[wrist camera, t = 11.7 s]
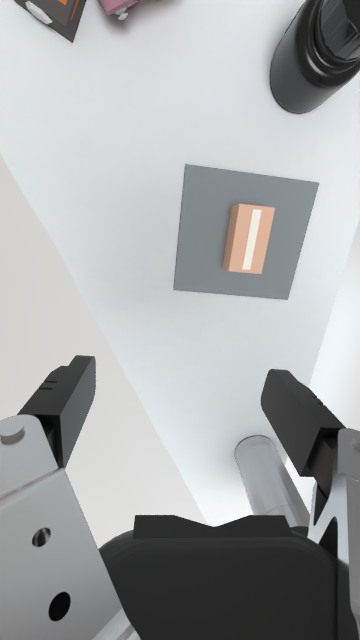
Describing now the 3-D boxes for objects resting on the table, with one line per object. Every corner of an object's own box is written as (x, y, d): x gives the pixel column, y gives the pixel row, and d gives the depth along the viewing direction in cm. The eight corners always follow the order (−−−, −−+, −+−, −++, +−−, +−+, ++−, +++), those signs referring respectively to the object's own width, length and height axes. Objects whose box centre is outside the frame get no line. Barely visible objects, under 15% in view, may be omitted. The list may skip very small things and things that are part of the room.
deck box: (263, 210, 36) (275, 207, 32) (251, 269, 39) (261, 274, 35) (231, 206, 35) (240, 203, 31) (222, 267, 38) (229, 271, 34)
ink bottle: (351, 46, 30) (464, -65, 19) (318, 126, 33) (398, 72, 21) (284, 10, 28) (363, -136, 17) (255, 98, 31) (307, 23, 20)
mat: (286, 299, 41) (287, 299, 41) (173, 289, 39) (173, 289, 39) (317, 183, 35) (319, 182, 35) (185, 165, 33) (185, 164, 33)
